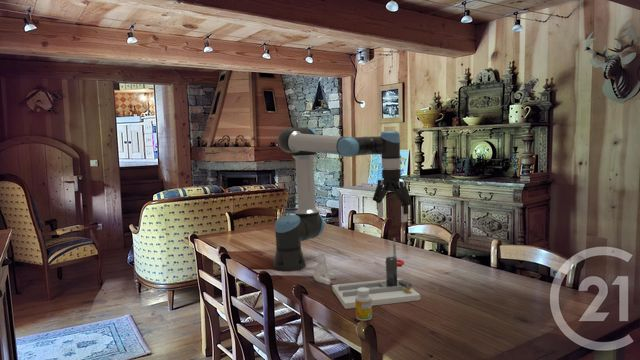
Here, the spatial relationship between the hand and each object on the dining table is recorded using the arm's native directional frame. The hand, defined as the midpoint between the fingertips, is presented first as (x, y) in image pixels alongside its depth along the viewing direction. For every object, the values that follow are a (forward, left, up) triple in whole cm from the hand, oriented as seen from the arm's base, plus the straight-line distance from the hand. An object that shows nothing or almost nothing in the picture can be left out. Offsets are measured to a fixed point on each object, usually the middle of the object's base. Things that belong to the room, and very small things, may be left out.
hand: (392, 219), depth 183 cm
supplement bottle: (-24, -36, -25) cm, 50 cm away
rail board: (-14, -17, -25) cm, 33 cm away
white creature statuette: (-29, +5, -25) cm, 39 cm away
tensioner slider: (-6, -20, -23) cm, 30 cm away
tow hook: (+8, +19, -25) cm, 32 cm away
